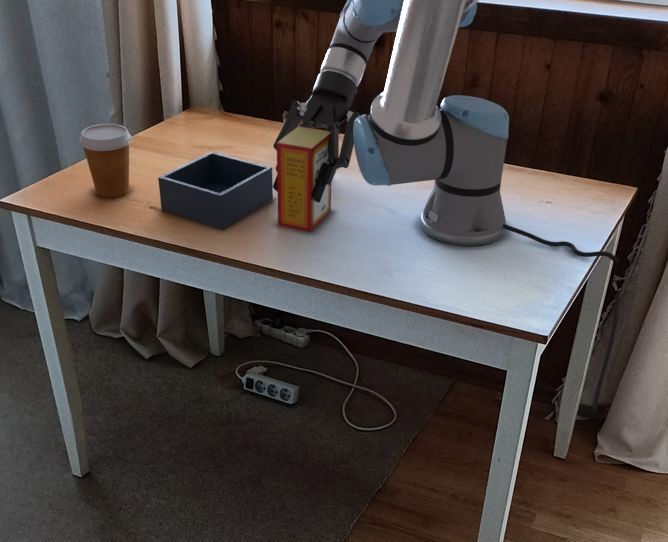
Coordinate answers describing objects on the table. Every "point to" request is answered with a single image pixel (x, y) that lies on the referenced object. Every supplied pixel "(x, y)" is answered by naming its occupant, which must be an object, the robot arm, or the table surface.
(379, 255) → the table surface
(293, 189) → the baking soda box
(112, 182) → the disposable coffee cup
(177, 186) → the bin
